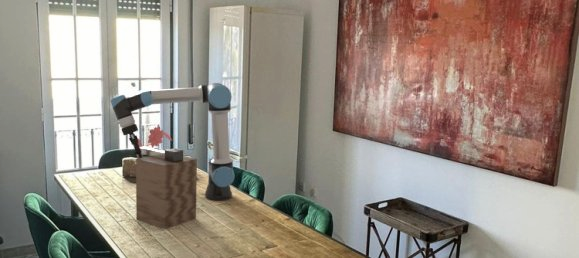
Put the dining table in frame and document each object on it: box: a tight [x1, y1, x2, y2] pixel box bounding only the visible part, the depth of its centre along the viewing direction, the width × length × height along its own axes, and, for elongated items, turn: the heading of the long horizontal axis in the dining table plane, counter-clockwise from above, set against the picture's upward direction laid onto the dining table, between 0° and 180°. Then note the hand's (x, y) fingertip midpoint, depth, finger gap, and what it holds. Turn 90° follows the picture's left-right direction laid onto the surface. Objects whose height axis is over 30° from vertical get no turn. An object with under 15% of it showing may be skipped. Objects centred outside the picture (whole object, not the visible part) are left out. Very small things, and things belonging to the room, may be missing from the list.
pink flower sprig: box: [138, 126, 173, 149], centre depth 299 cm, size 15×26×35 cm, turn 147°
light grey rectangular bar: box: [140, 146, 184, 163], centre depth 239 cm, size 6×26×5 cm, turn 55°
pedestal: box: [135, 155, 198, 230], centre depth 239 cm, size 20×20×30 cm
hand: (143, 165), depth 250 cm, fingers open, 13 cm apart
